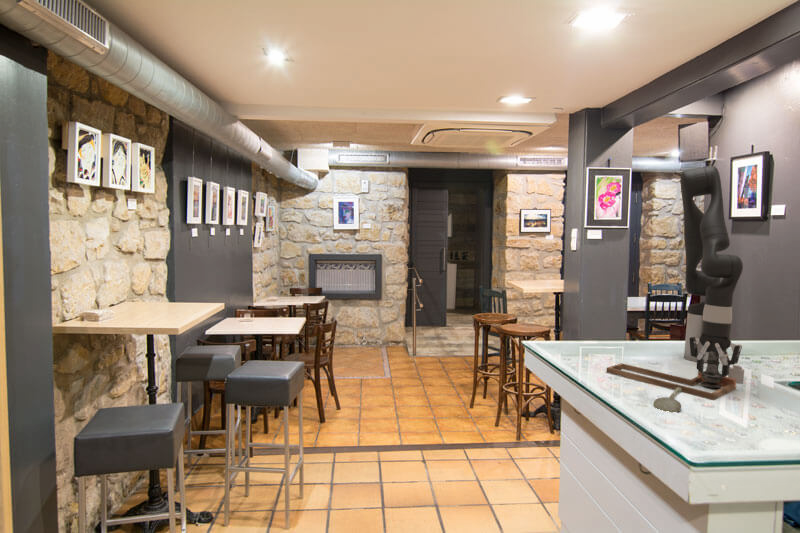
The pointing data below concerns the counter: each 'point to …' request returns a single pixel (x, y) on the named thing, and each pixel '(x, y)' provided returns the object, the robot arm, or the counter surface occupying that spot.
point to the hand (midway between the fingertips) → (712, 373)
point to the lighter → (735, 372)
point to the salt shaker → (712, 371)
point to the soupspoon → (668, 402)
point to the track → (725, 383)
